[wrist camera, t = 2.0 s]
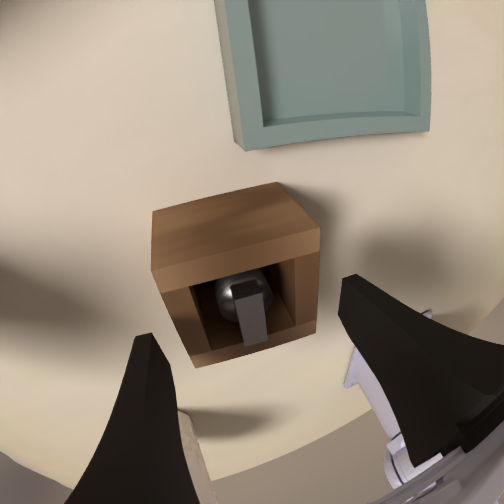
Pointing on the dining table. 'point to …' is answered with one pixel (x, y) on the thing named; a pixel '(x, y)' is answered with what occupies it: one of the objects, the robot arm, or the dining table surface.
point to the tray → (324, 68)
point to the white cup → (195, 461)
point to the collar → (236, 267)
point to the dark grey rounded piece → (245, 303)
